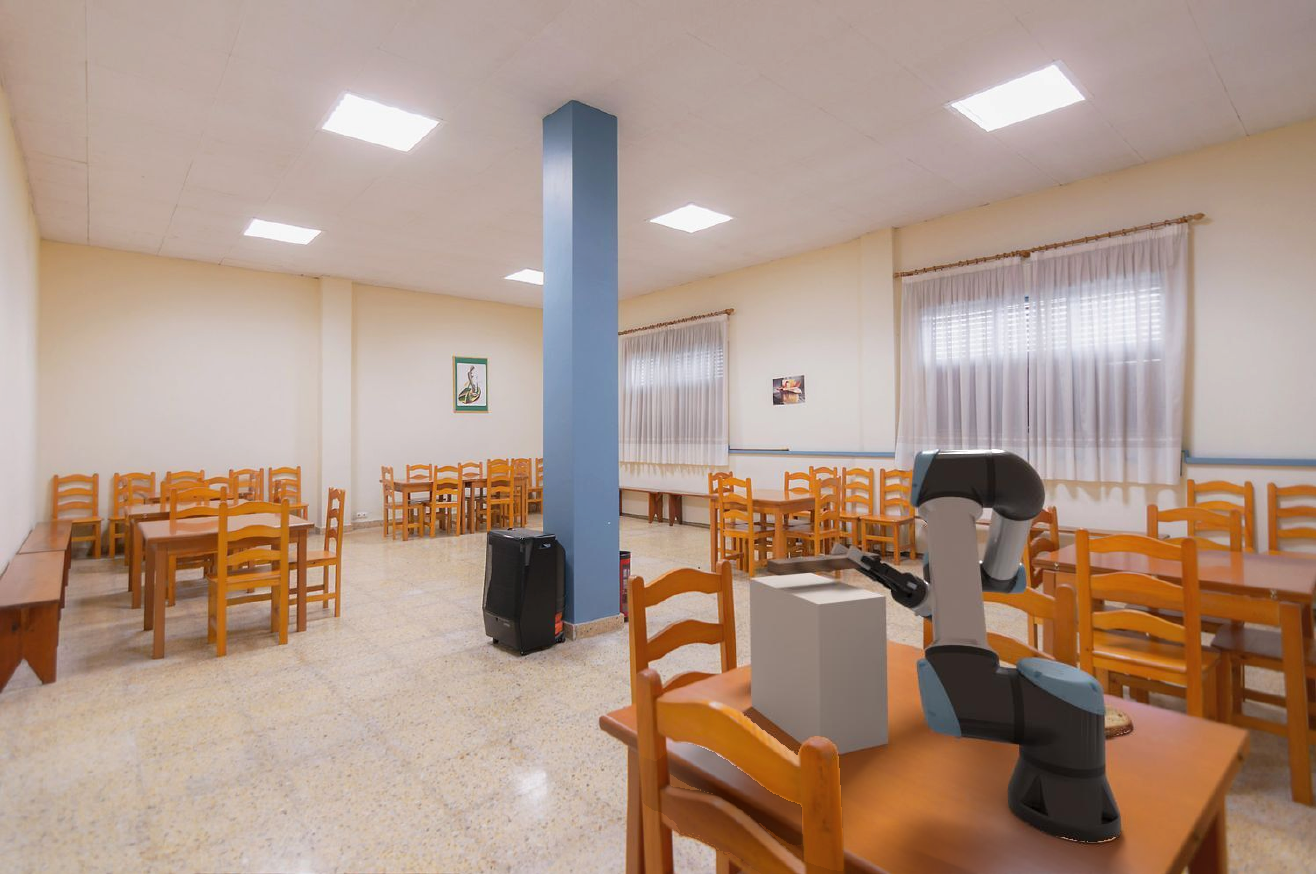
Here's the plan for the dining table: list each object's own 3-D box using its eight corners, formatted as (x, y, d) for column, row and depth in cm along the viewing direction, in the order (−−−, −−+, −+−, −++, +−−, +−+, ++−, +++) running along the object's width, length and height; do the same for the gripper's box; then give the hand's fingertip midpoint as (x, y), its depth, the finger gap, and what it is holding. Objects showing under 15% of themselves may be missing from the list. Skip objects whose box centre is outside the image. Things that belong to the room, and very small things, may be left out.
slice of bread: (1135, 722, 134) (1135, 704, 134) (1126, 753, 120) (1125, 733, 120) (1038, 700, 146) (1038, 683, 146) (1019, 726, 132) (1019, 708, 132)
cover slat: (866, 562, 144) (866, 551, 144) (880, 566, 139) (879, 554, 139) (767, 571, 134) (767, 560, 134) (778, 575, 130) (778, 563, 130)
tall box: (810, 695, 149) (808, 572, 149) (888, 743, 124) (885, 596, 125) (751, 706, 143) (749, 578, 143) (820, 758, 119) (818, 604, 119)
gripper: (937, 618, 137) (861, 572, 130) (881, 599, 153) (811, 558, 146) (950, 586, 138) (875, 539, 131) (893, 571, 155) (824, 529, 148)
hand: (841, 549), depth 139 cm, fingers closed on cover slat, 5 cm apart
